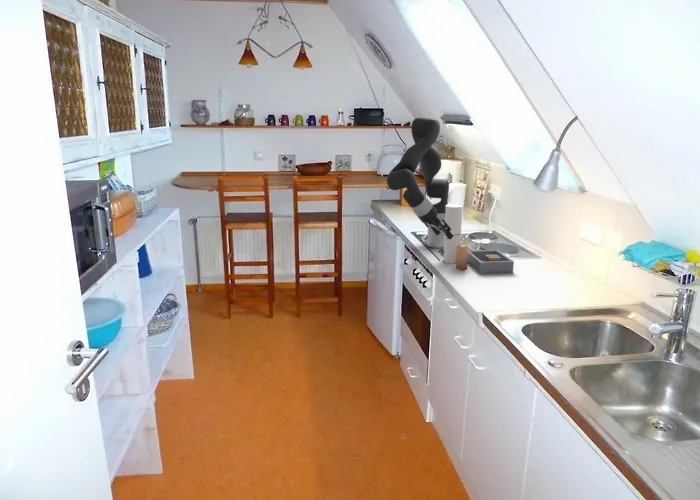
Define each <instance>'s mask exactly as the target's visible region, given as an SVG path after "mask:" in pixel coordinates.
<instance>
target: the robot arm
mask: <svg viewBox="0 0 700 500" xmlns="http://www.w3.org/2000/svg"><path fill="white" fill-rule="evenodd" d="M440 130H441V124H440V121H439V120H438V119H436V118H430V117H429V118H428V117H415V118H414V119H413V121H412V122H411V131H410V132H411V136H412V139H413V142H414V144H413V145H411V146H410V147H408V148H407V149H406V150H405V152H404V153H403V155H402V156H401V158H400V159H399V160H400V161H399V162H398V163H397V164H396V165H395V166H394V167H393V168H392V169H391V170H390V172H389V173H388V174H387V179H386V184H387V188H389V189H390V190H392V191H399V190H402V189H406V190H405V191H403V195H402V197H403V199H404V201H405V202H406V203H407V204H408V206H409V207H410V209H411V210H412V213H414V214H415V215H416V216H417V218H418V219H419V220H420V222H421V223H423V224H424V225H425V227H426V228H427V242H426V243H427V244H426V245H427V247H428V248H429V247H430V248H437V249H439V248H440V249H441V248H444V236H445V235H446V236H447V238H448V239H451V238H452V237H453V235H452V233H451V232H450V230H451V228H450V227H449V226H448V224H447V223H446V222H445V211H446V205H449V204H448V202H449V192H450V191H449V190H450V183H449V180H448V179H442V178H441V179H440V178H435V176H436V175H438V173H439V172H440V170H441V168H442V160H441V155H440V152H439V150H438V149H437V148H436V147H435V146H434V143H436V141H437V140H438V137H439V135H440ZM419 164H420V167H421V171H422V174H423V178H424V187H425V194H426V195H427V196H426V195H425V194H424V193H423V192H422V190H421V189H420V187H419V185H418V182H417V180H416V177H415V175H414V172H416V170H417V168H418V166H419ZM428 198H431V199H440V201H439V202H437V203H434V204H432V202H431V201H430V199H428Z"/></svg>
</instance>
